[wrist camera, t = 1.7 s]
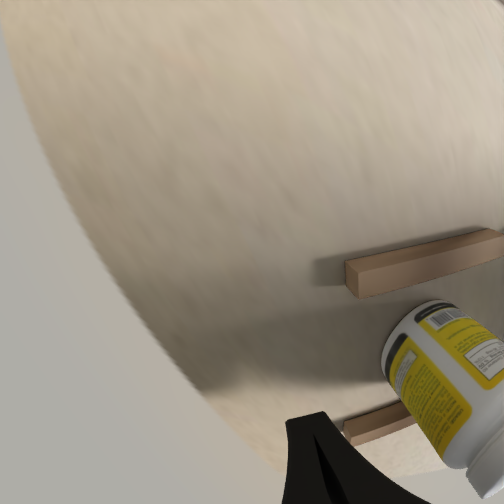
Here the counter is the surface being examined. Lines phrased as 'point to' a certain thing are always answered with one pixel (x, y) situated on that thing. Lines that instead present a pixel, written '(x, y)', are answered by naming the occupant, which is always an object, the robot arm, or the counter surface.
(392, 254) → the rails
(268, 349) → the counter surface
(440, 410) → the supplement bottle
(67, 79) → the counter surface
